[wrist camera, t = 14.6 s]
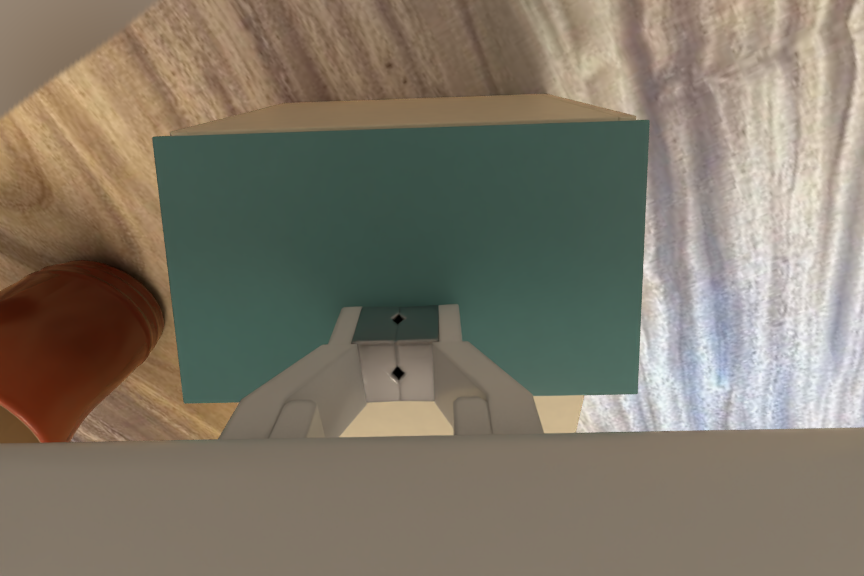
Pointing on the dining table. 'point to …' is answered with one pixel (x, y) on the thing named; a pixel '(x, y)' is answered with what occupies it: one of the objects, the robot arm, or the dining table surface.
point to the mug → (69, 346)
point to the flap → (408, 246)
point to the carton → (420, 113)
